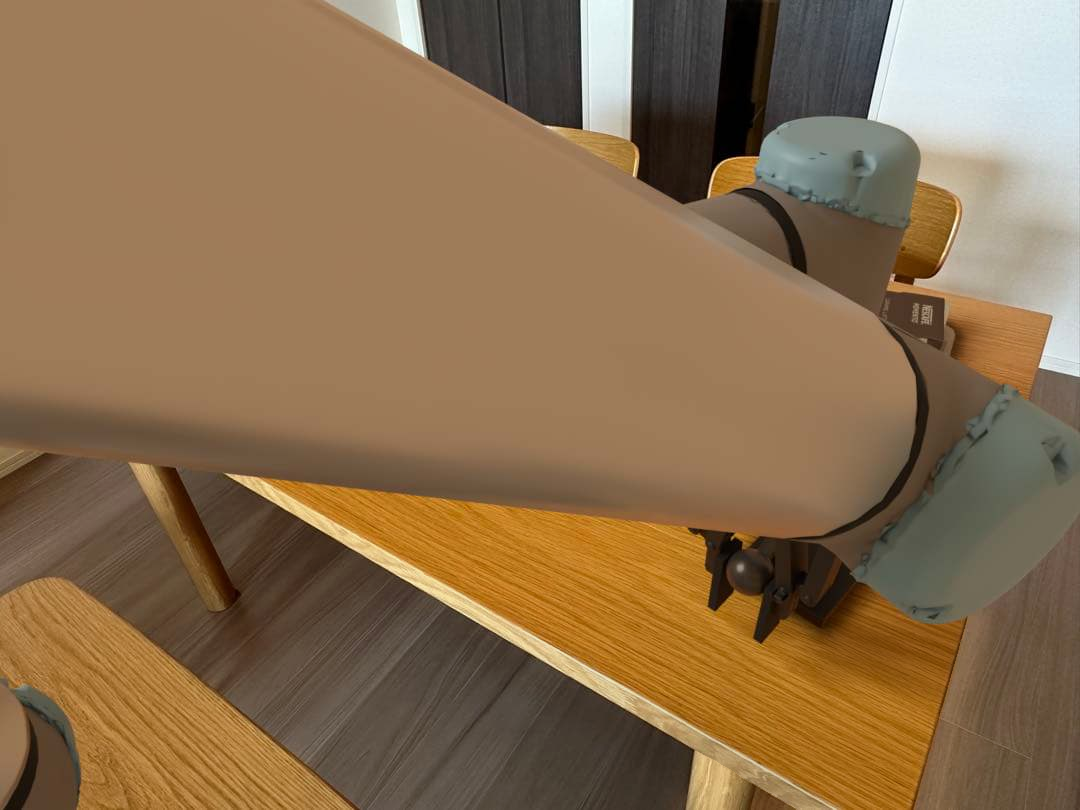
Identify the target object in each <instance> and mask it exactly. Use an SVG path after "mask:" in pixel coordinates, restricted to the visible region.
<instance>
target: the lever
mask: <svg viewBox="0 0 1080 810" xmlns="http://www.w3.org/2000/svg"><path fill="white" fill-rule="evenodd" d="M774 556H775V537H767V538H766V539H765V541H764V542H763V543H762V544H761V546H760V547H759V548H758V549H757V550H756V549H752V548H749V547H746V548H742V549H741V550H739V551H737V552H735V553H734V554H733V555H732V556H731V557H730V559H729V560H728V563H727V566H726V575H727V579H728V581H729V583H730V585H731V586H732V587H733V588H734V591H736V592H737V593H739V594H741V595H742V596H746V597H758V596H761V595H763V593H764V589H765V587H766V586H767V585H768V584H769V583H770V582H771V581H772V579H773V578H774V577H775V571H774V566H773V564H772V562H771V560H772V559H773V557H774Z"/></svg>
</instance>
